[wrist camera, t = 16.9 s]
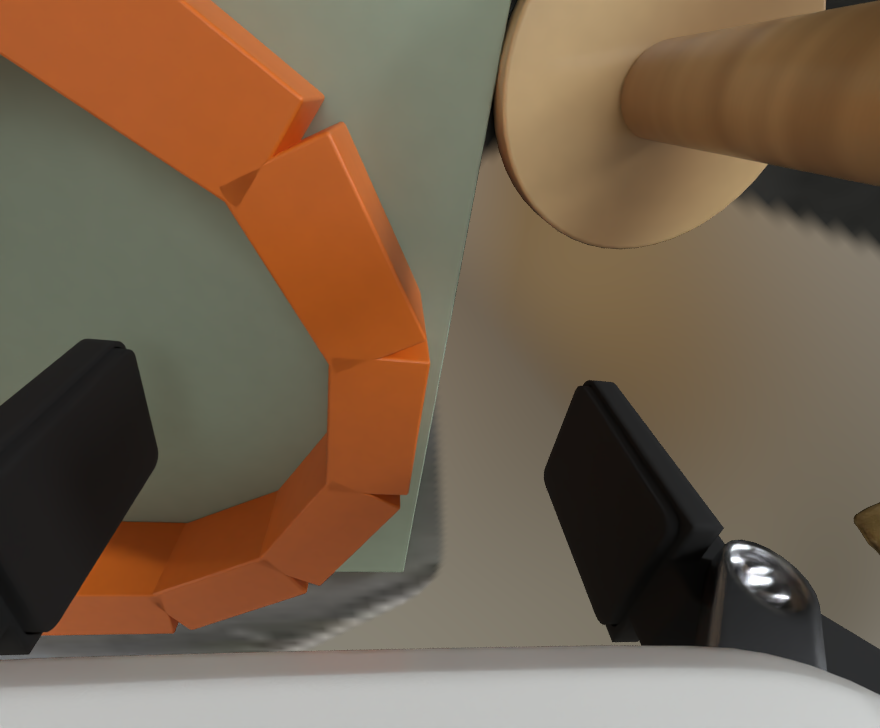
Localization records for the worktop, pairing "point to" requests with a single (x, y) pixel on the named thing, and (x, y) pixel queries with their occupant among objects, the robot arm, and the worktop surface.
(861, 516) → the rock
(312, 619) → the worktop surface
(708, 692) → the robot arm
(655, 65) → the wooden peg disc
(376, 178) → the mat
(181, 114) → the ring
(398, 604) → the worktop surface
